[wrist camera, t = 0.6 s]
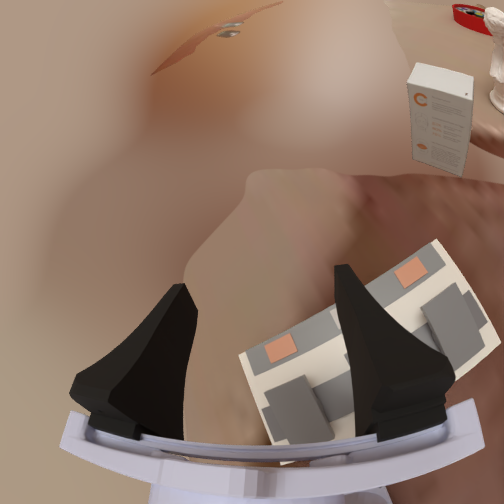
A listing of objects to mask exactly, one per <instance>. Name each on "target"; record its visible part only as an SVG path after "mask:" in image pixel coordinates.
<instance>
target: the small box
mask: <svg viewBox="0 0 504 504" xmlns="http://www.w3.org/2000/svg"><path fill="white" fill-rule="evenodd" d="M407 88H408V95H409V105H410V118H411V136H412V159H413V160H416V161H419V162H422V163H425V164H428V165H431V166H433V167H436V168H439V169H442V170H444V171H447V172H450V173H452V174H454V175H457V176H459V177H462V175H463V170H464V166H465V162H466V157H467V152H468V146H469V141H470V134H471V126H472V116H473V101H474V77H472V76H469V75H466V74H462V73H459V72H456V71H452V70H448V69H444V68H440V67H436V66H431V65H427V64H422V63H416V65H415V67H414V69H413V71H412V73H411V75H410V77H409V78H408V80H407Z"/></svg>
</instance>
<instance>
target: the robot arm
mask: <svg viewBox="0 0 504 504" xmlns="http://www.w3.org/2000/svg"><path fill="white" fill-rule="evenodd" d="M334 277H335V296H334V297H335V303H336V309H337V315H338V319H339V323H340V327H341V330H342V334H343V338H344V342H345V346H346V350H347V354H348V358H349V364H350V371H351V379H352V389H353V400H354V414H355V437H354V438H348V439H341V440H334V441H327V442H318V443H307V444H294V445H270V446H247V445H223V444H209V443H199V442H190V441H184V435H183V401H184V387H185V378H186V370H187V365H188V361H189V357H190V353H191V348H192V344H193V340H194V336H195V332H196V326H197V317H198V310H197V308H196V306H195V304H194V302H193V300H192V298H191V296H190V293H189V291H188V289H187V287H186V285H185V283H182V284H174V285H173V286H172V287H171V288H170V289H169V290H168V292H167V293H166V294H165V295H164V296H163V298H162V299H161V300H160V301H159V303H158V304H157V305H156V306H155V308H154V309H153V310H152V311H151V312H150V314H149V315H148V316H147V317H146V318H145V319H144V320H143V322H142V323H141V324H140V325H139V326H138V327H137V328H136V329H135V330H134V331H133V332H132V333H131V334H130V335H129V336H128V337H127V338H126V339H125V340H124V341H123V342H122V343H121V344H120V345H118V346H117V347H116V348H115V349H114V350H112V351H111V352H110V353H109V354H107V355H106V356H105V357H103V358H102V359H101V360H99V361H98V362H96V363H95V364H93V365H92V366H90V367H88V368H87V369H85V370H83V371H81V372H79V373H78V374H77V375H76V377H75V379H74V382H73V384H72V387H71V390H70V392H69V394H70V396H71V398H72V399H74V400H75V401H76V402H77V403H79V404H80V405H81V406H83V407H84V408H85V409H87V410H88V411H90V412H91V415H90V417H89V416H87V415H84V414H82V413H79V412H76V411H73V410H71V412H70V414H69V418H68V421H67V423H66V427H65V430H64V433H63V436H62V439H61V443H60V448H61V449H63V450H65V451H67V452H69V453H71V454H73V455H76V456H78V457H80V458H82V459H84V460H87V461H89V462H91V463H94V464H96V465H99V466H101V467H103V468H106V469H109V470H112V471H114V472H117V473H120V474H123V475H126V476H129V477H132V478H135V479H139V480H142V481H146V482H149V483H152V484H151V490H150V496H149V503H148V504H393V503H392V501H391V498H390V496H389V493H388V491H387V488H386V485H390V484H394V483H397V482H401V481H404V480H408V479H411V478H414V477H417V476H420V475H423V474H426V473H429V472H431V471H434V470H437V469H439V468H442V467H444V466H447V465H449V464H451V463H454V462H456V461H458V460H460V459H463V458H465V457H467V456H469V455H471V454H473V453H475V452H477V451H479V450H481V449H483V448H484V447H485V444H484V439H483V434H482V430H481V426H480V421H479V418H478V414H477V410H476V406H475V403H474V399H473V398H470V399H468V400H466V401H463V402H461V403H458V404H456V405H453V406H451V407H449V408H447V409H446V410H445V406H444V404H445V403H446V398H445V395H444V394H445V393H446V392H447V391H448V390H449V388H450V387H451V386H452V385H453V383H454V382H455V380H456V375H455V372H454V370H453V367H452V365H451V363H450V361H449V359H448V357H447V356H445V355H443V354H442V353H440V352H438V351H436V350H435V349H433V348H431V347H430V346H428V345H427V344H425V343H424V342H422V341H421V340H419V339H418V338H417V337H415V336H414V335H413V334H412V333H410V332H409V331H408V330H406V329H405V328H404V327H403V326H402V325H400V324H399V323H398V322H397V321H396V320H395V319H394V318H393V317H392V316H391V315H390V314H389V313H388V312H387V311H386V310H385V309H384V308H383V307H382V306H381V305H380V304H379V303H378V302H377V301H376V300H375V298H374V297H373V296H372V295H371V294H370V292H369V291H368V290H367V289H366V288H365V286H364V285H363V284H362V283H361V281H360V280H359V279H358V277H357V276H356V274H355V273H354V272H353V270H352V269H351V267H350V266H349V265H348V264H343V265H336V266H334ZM173 454H175V455H173ZM177 455H181V456H188V457H195V458H203V459H212V460H223V461H240V462H288V461H305V460H313V461H311V462H310V467H301V468H270V467H247V466H232V465H219V464H209V463H199V462H192V461H189V460H187V459H186V458H184V457H181V456H177ZM347 455H348V456H347ZM316 459H318V460H316Z"/></svg>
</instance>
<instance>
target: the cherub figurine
mask: <svg viewBox="0 0 504 504" xmlns="http://www.w3.org/2000/svg"><path fill="white" fill-rule="evenodd" d="M483 21H484V22H485V26H486V27H487V28H488V30H489V31H490V33H491V34H492V35H493V42H494V43H495V48H494V50H493V53H492V64H491V68H490V76H492V77H493V79H494V84H495V86H494V90H492V91H491V92H490V100H491V102H492V104H493V105H494V106H495V107H496V109H498V110H499V111H500V112H502V113H503V114H504V13H503V12H502V11H500V10H499V9H496V8H493V7H491V8H486V9H485V15H484V19H483Z"/></svg>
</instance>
